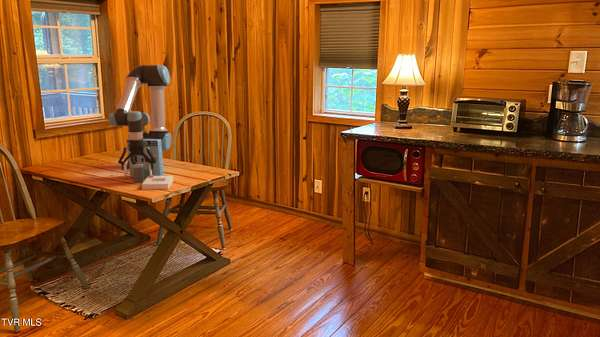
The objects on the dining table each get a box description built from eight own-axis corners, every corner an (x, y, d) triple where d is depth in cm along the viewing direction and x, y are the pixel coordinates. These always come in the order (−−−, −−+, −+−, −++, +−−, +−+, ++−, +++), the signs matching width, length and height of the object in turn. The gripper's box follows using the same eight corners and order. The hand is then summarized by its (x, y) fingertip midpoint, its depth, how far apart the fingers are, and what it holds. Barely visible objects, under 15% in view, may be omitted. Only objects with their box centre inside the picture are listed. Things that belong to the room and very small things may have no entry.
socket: (148, 181, 283) (148, 174, 282) (173, 180, 284) (172, 174, 283) (141, 189, 265) (141, 183, 264) (168, 189, 267) (167, 182, 266)
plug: (136, 180, 283) (134, 164, 281) (144, 180, 284) (142, 163, 281) (134, 182, 279) (133, 165, 276) (142, 182, 279) (141, 165, 277)
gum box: (163, 176, 293) (161, 138, 288) (160, 178, 288) (157, 140, 283) (133, 175, 296) (130, 137, 291) (129, 177, 291) (126, 139, 286)
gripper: (110, 140, 270) (113, 177, 275) (157, 139, 273) (159, 176, 278) (114, 138, 278) (117, 174, 282) (160, 137, 280) (161, 173, 285)
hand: (138, 175), depth 280 cm, fingers open, 13 cm apart
